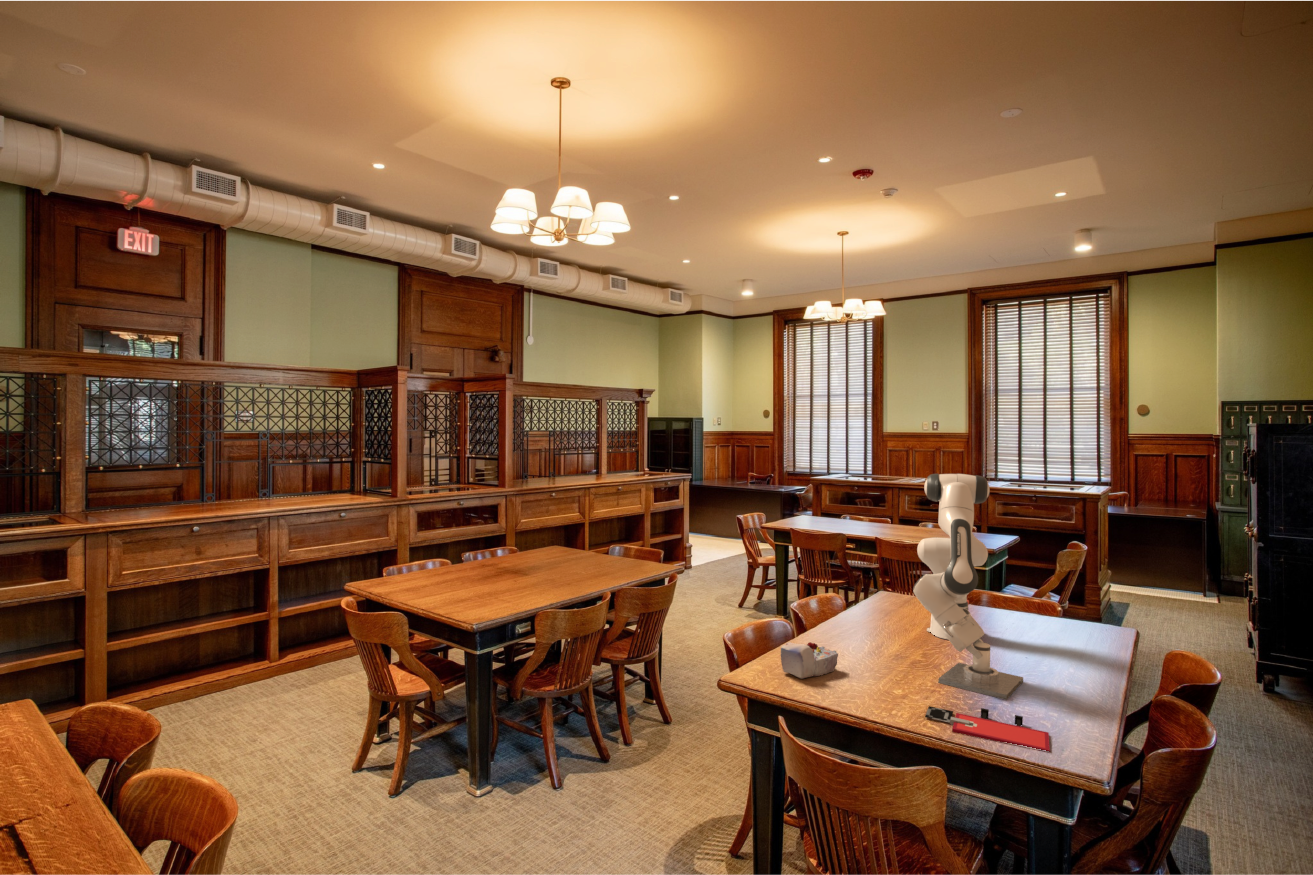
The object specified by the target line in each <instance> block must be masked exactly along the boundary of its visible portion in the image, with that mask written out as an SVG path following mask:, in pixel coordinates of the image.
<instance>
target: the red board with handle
mask: <svg viewBox="0 0 1313 875" xmlns="http://www.w3.org/2000/svg"><path fill="white" fill-rule="evenodd" d="M953 714H954V711H953V710H950V709H945V708H940V707H935V706H930V705H928V707H927V710H926V713H925V716H924V718H927V719H931V720H937V721H941V722H945V723H949V724H950V725H951V726H952V728H951V729H952V730H951V733H956V734H959V733H961V735H964V734H966V735H965V736H969V735H970V736H969V737H974V736H975V738H978V737H979V739H983V738H984V739H983V740H988V739H990V740H989V741H994V742H997V741H1000V742H999V743H1002V742H1007V743H1012V744H1017V745H1023V746H1027V747H1032V748H1036V749H1041V750H1046V751H1049V752H1051V750H1050V733H1049V732H1048V731H1044V730H1038V729H1035V728H1034V729H1033V728H1029V727H1026V726H1025V727H1024V726H1021V725H1023V721H1024V719H1023V718H1024V717H1023V716H1022V715H1017V714H1015V715H1014V724H1010V723H1006V722H1001V721H995V720H993V719H992V720H991V719H989V709H988V708H984V707H981V708H980V717H977V716H973V715H967V714H964V713H960V712H959V713H958V712H956V713H955V717H954V716H953ZM1015 724H1017V725H1015ZM1007 743H1006V744H1007ZM1049 752H1048V753H1049Z"/></svg>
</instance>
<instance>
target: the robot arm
mask: <svg viewBox="0 0 1313 875" xmlns="http://www.w3.org/2000/svg"><path fill="white" fill-rule="evenodd" d="M923 486H924V487H923V489H924V493H925V495H926V497H927V499H928V500H930V501H932V502H939V505H938V518H937V520H938V521H937V522H938V527H939V528H940V529H941V530H942V531H943V532H944V533H945V534H946V535H948V536H949V537H937V536H936V537H926V538H922V539H921V540H920V541H919V542H918V544H917V548H916V551H917V556H918V558H919V560H920V561H921V562H922V563H924V565H926V566H927V567H928V568H929V569H930V570H931V572H932V573H931V574H929V573H925V574H923V575H922V576H920V578H918V579H917V581H916V582H915V583H914V585H913V588H912V590H913V591H912V592H913V594H914V596H915V597H916V599H917V600H918V601H919V602H920V604H921V605H922V606H923V607H924V609H925V610H927V611H928V612H929V613H930V614H931V616H930V627H927V628H926V631H927V632H929V633H930V632H931V635H933V636H934V635H935V637H937V638H940V639H945V640H948V641H949V642H950V644H951V645H952V646H953V648H954V649H955V650H956V651H958V652H959V653H961V652H962V651H964V650H966V651H968V652H969V653H970V654H971V655H972V656H973V655H974V656H975V657H976V658H977V659H980V658H981V657H982V656H983V655H982V654H981V652H980V651H978V650H976V649H975V648H974V646H973V643H974V642H983V643H984V641H983V639H981V638H982V637H983V636H985V631H984V630H983V628H982V627H981V625H980V624H979V623H978V621H976V620H975V618H974V617H973V615H972V614H971V612H970V611H969V605H970V600H969V599H967V598H968V595H969V594H970V593H972V592H973V591H974V590H975V589H976V588H977V587H978V584H979V576H978V572H977V570H976V568H975V567H981V566H983V565H985V563H986V562H987V560H988V557H989V551H988V548H987V546H986V545H985V543H984V542H982V541H981V540H980V539H978V538H977V537H976V536H975V535H974V533H973V530H974V529H973V527H974V520H975V505H979V504H983V503H985V502H986V501H987V499H988V497H989V496H990V485H989V482H988V480H987V478H986V477H984V476H982V475H977V474H975V475H972V474H967V473H966V474H965V473H942V474H941V473H940V474H939V473H932V474H929V475H928V476H927V478H926V479H925V482H924V485H923Z"/></svg>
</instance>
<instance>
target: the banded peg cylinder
mask: <svg viewBox="0 0 1313 875" xmlns="http://www.w3.org/2000/svg"><path fill="white" fill-rule="evenodd" d="M972 644H973V646H974V648H975V649H976V650H978V651H980V652H981V654H982V655H983V656H982V657H981V658H980V659H977V658H976V657H975V656H974V655H973V654H972V665H973V669H974V670H977V671H981V672H989V671H990V667H991V645H990V644H989V643H987V642H984V641H983V642H974V643H972Z"/></svg>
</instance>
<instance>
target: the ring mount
mask: <svg viewBox="0 0 1313 875" xmlns="http://www.w3.org/2000/svg"><path fill="white" fill-rule="evenodd" d="M1023 683H1024V676H1019V675H1015V674H1010V673H1005V672H1001V671H998V670H997V669H995V668H993V667H991V666H990V671H989V672H981V671H977V670H974V669H973V664H966V663H962V662H958V663H956V664H955V665H954V666H952V667H950V669H949V670H947V671H946V672H945V673H943V674H942V675H941V676H939V677H938V684H942V685H945V686H951V687H954V688H958V689H962V690H966V691H970V692H972V693H973V692H974V693H978V694H980V695H985V696H989V697H992V698H993V697H995V698H997V699H1000V700H1001V699H1002V700H1006V701H1007V700H1008V699H1009V698H1010V697H1011V696H1012V695H1013V694H1014V693H1015V692H1016V690H1018V688H1019V687H1020V686H1021V685H1023Z"/></svg>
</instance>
